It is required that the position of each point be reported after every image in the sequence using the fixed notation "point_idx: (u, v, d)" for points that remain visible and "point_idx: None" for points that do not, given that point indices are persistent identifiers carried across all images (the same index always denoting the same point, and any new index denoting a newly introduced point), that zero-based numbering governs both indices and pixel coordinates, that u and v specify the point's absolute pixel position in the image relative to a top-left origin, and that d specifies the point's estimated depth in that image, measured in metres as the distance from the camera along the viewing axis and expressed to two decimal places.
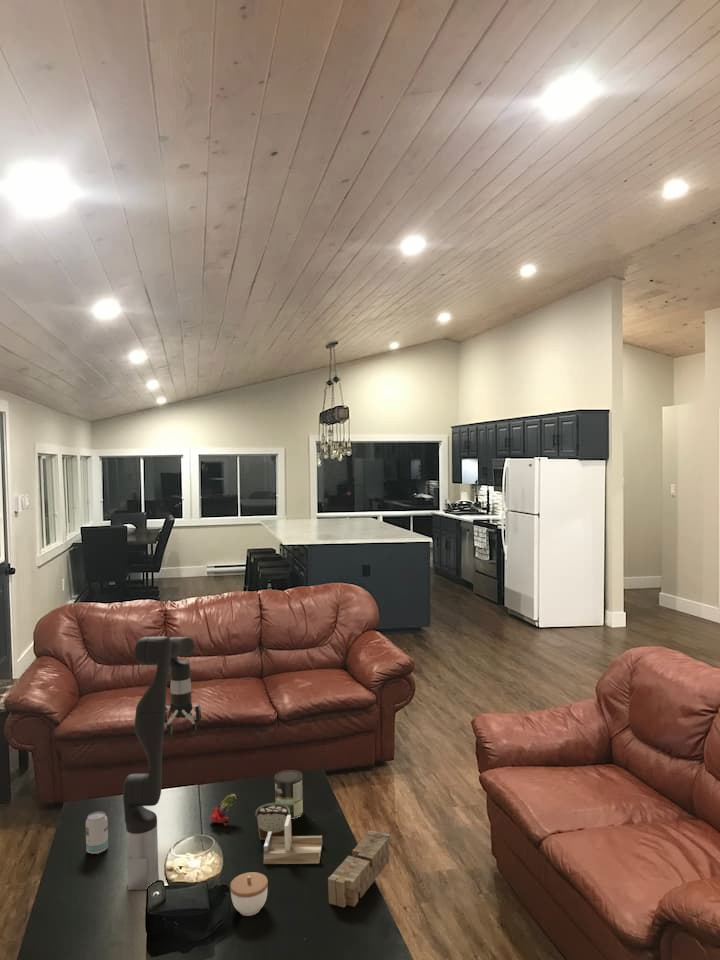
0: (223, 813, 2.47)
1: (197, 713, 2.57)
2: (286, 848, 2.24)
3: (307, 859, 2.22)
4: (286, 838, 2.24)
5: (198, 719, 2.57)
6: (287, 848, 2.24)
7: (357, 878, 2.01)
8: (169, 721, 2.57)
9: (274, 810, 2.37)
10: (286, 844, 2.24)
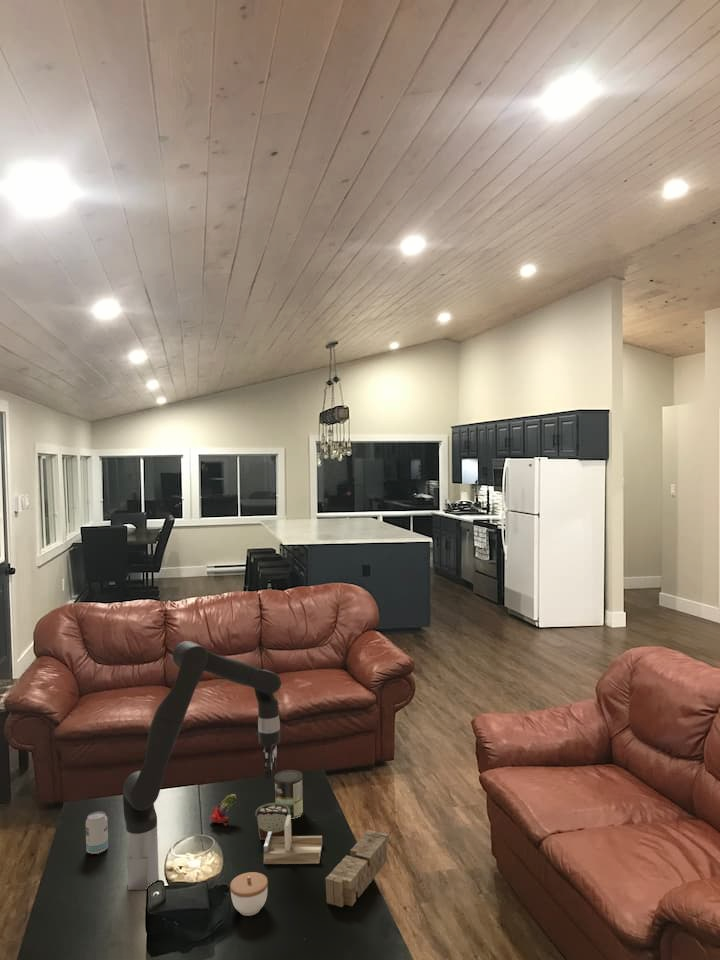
0: (223, 813, 2.47)
1: (276, 745, 2.47)
2: (286, 848, 2.24)
3: (307, 859, 2.22)
4: (286, 838, 2.24)
5: (276, 750, 2.47)
6: (287, 848, 2.24)
7: (355, 878, 2.01)
8: (271, 765, 2.36)
9: (274, 810, 2.37)
10: (286, 844, 2.24)
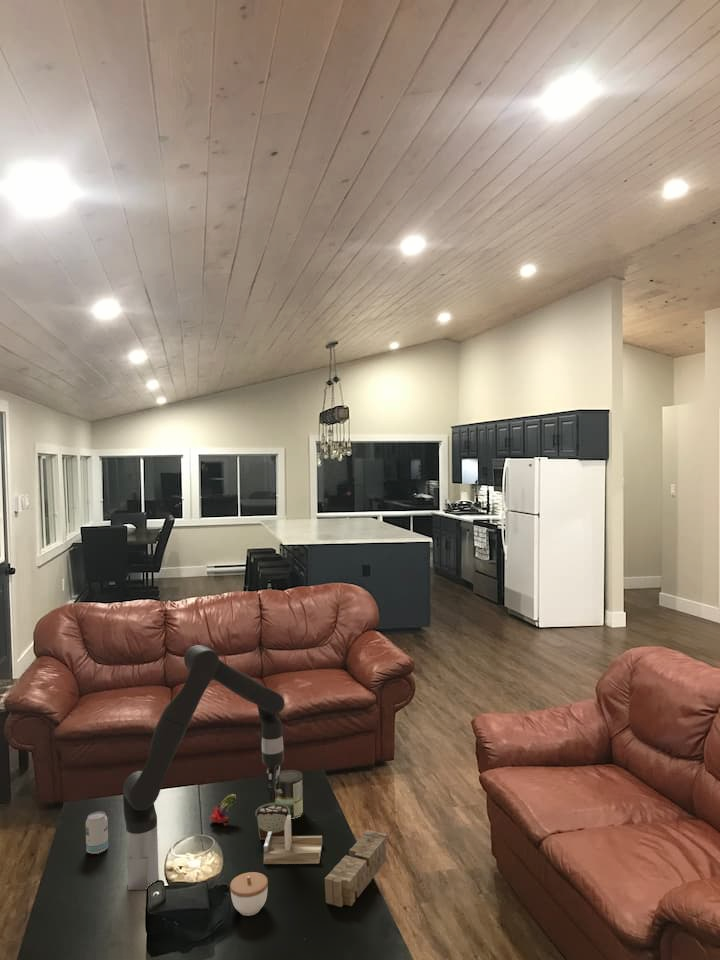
0: (223, 813, 2.47)
1: (279, 764, 2.46)
2: (286, 848, 2.24)
3: (307, 859, 2.22)
4: (286, 838, 2.24)
5: None
6: (287, 848, 2.24)
7: (354, 878, 2.01)
8: (275, 786, 2.35)
9: (274, 810, 2.37)
10: (286, 844, 2.24)
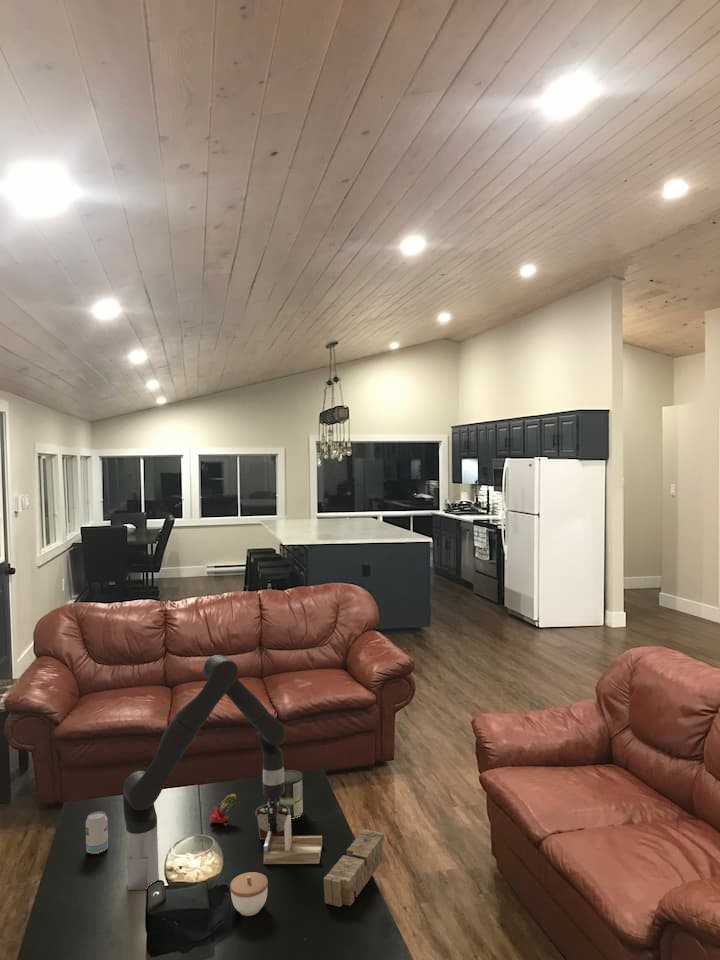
0: (223, 813, 2.47)
1: None
2: (286, 848, 2.24)
3: (307, 859, 2.22)
4: (286, 838, 2.24)
5: None
6: (287, 848, 2.24)
7: (353, 877, 2.01)
8: (276, 818, 2.36)
9: None
10: (286, 844, 2.24)
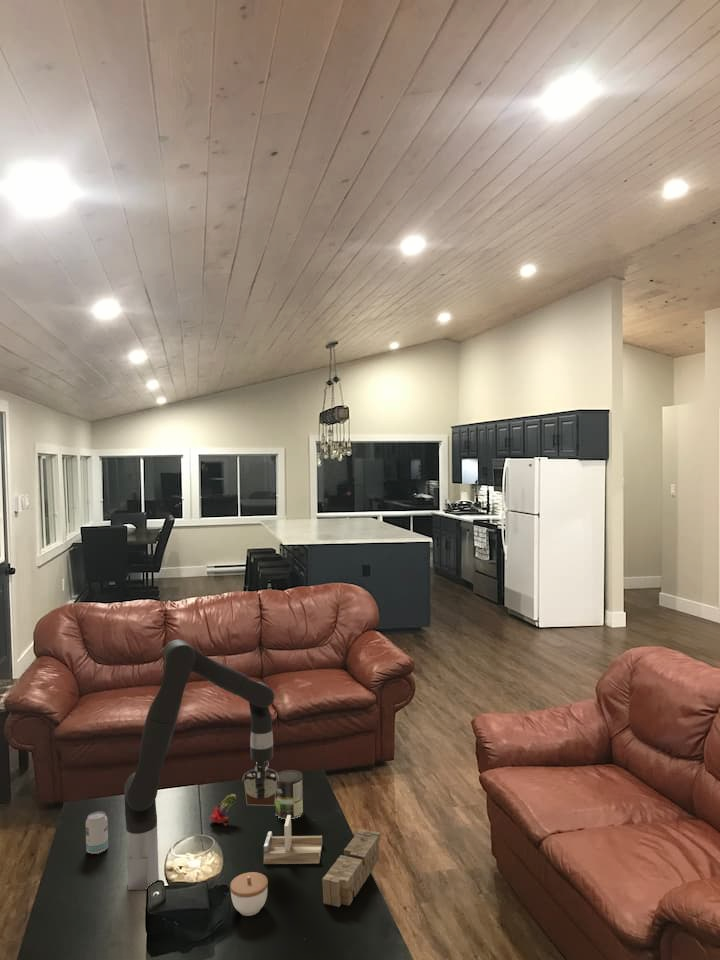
0: (223, 813, 2.47)
1: None
2: (286, 848, 2.24)
3: (307, 859, 2.22)
4: (286, 838, 2.24)
5: None
6: (287, 848, 2.24)
7: (351, 877, 2.01)
8: (264, 783, 2.27)
9: None
10: (286, 844, 2.24)
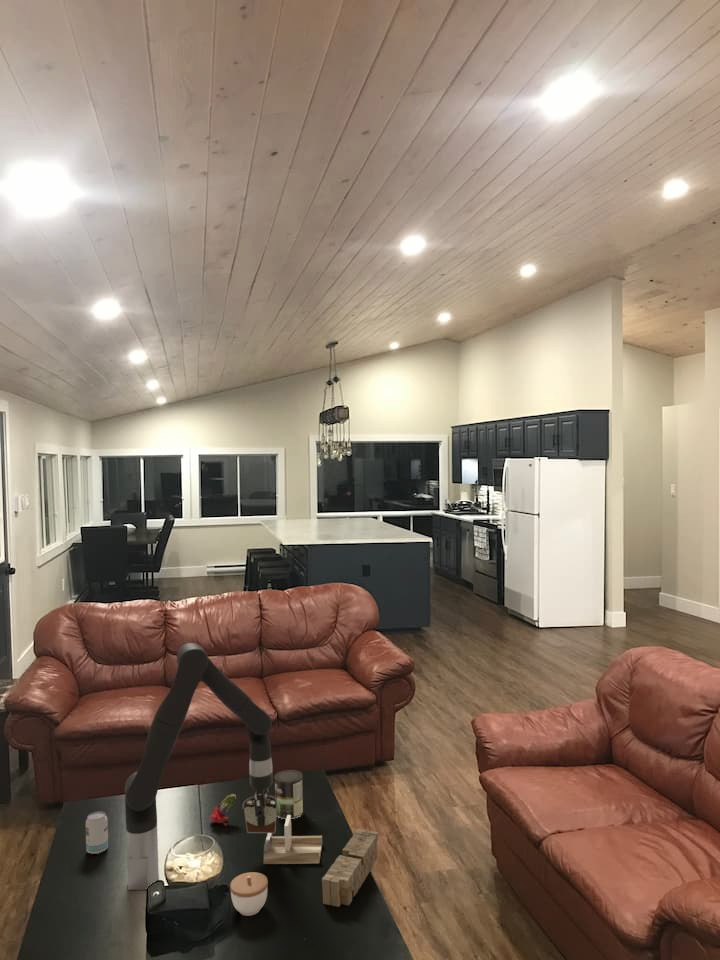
0: (223, 813, 2.47)
1: None
2: (286, 848, 2.24)
3: (307, 859, 2.22)
4: (286, 838, 2.24)
5: None
6: (287, 848, 2.24)
7: (351, 877, 2.01)
8: (264, 811, 2.24)
9: None
10: (286, 844, 2.24)
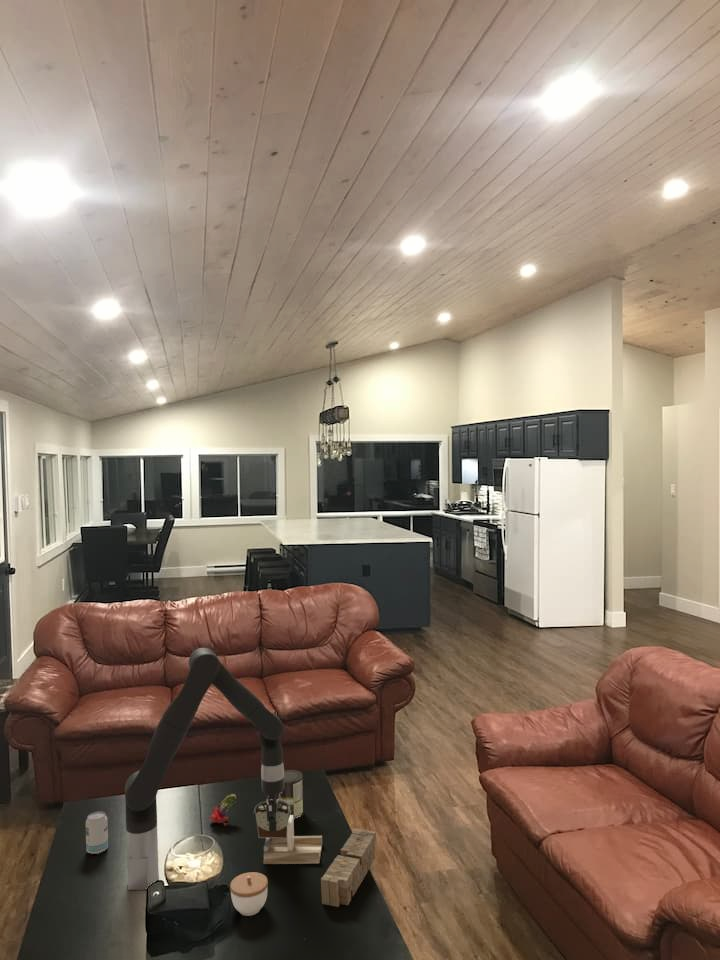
0: (223, 813, 2.47)
1: None
2: (289, 848, 2.24)
3: (307, 859, 2.22)
4: (289, 838, 2.24)
5: None
6: (290, 848, 2.24)
7: (350, 877, 2.01)
8: None
9: None
10: (289, 844, 2.24)
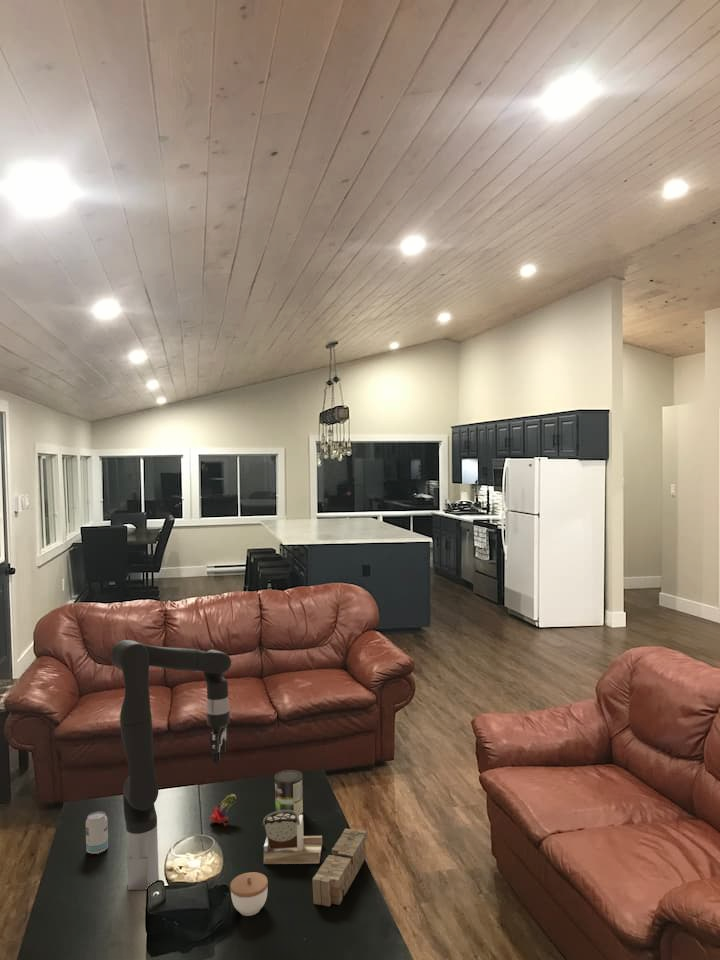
0: (223, 813, 2.47)
1: (226, 727, 2.39)
2: (298, 848, 2.24)
3: (307, 859, 2.22)
4: (298, 838, 2.23)
5: None
6: (299, 848, 2.24)
7: (341, 876, 2.02)
8: (219, 747, 2.28)
9: (282, 818, 2.26)
10: (298, 844, 2.24)
